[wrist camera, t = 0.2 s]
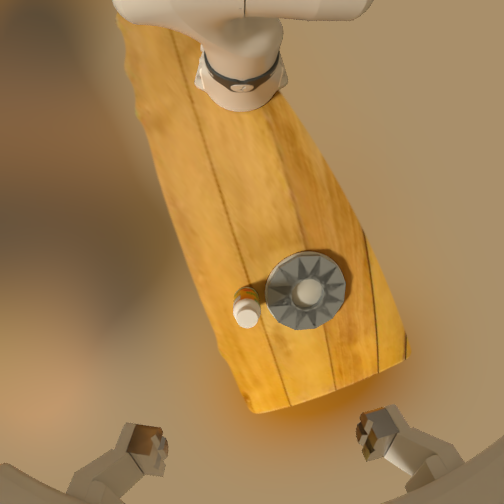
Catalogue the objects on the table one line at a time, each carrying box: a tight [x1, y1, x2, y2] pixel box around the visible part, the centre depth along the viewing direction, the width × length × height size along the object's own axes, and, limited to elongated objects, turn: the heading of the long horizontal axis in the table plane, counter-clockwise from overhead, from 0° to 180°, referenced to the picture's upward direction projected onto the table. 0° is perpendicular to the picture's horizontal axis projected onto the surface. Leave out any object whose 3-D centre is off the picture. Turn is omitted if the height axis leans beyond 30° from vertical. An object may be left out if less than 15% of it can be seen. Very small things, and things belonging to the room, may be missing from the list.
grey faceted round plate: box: [265, 251, 346, 330], centre depth 58 cm, size 18×18×2 cm
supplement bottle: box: [233, 287, 261, 328], centre depth 54 cm, size 5×5×10 cm
